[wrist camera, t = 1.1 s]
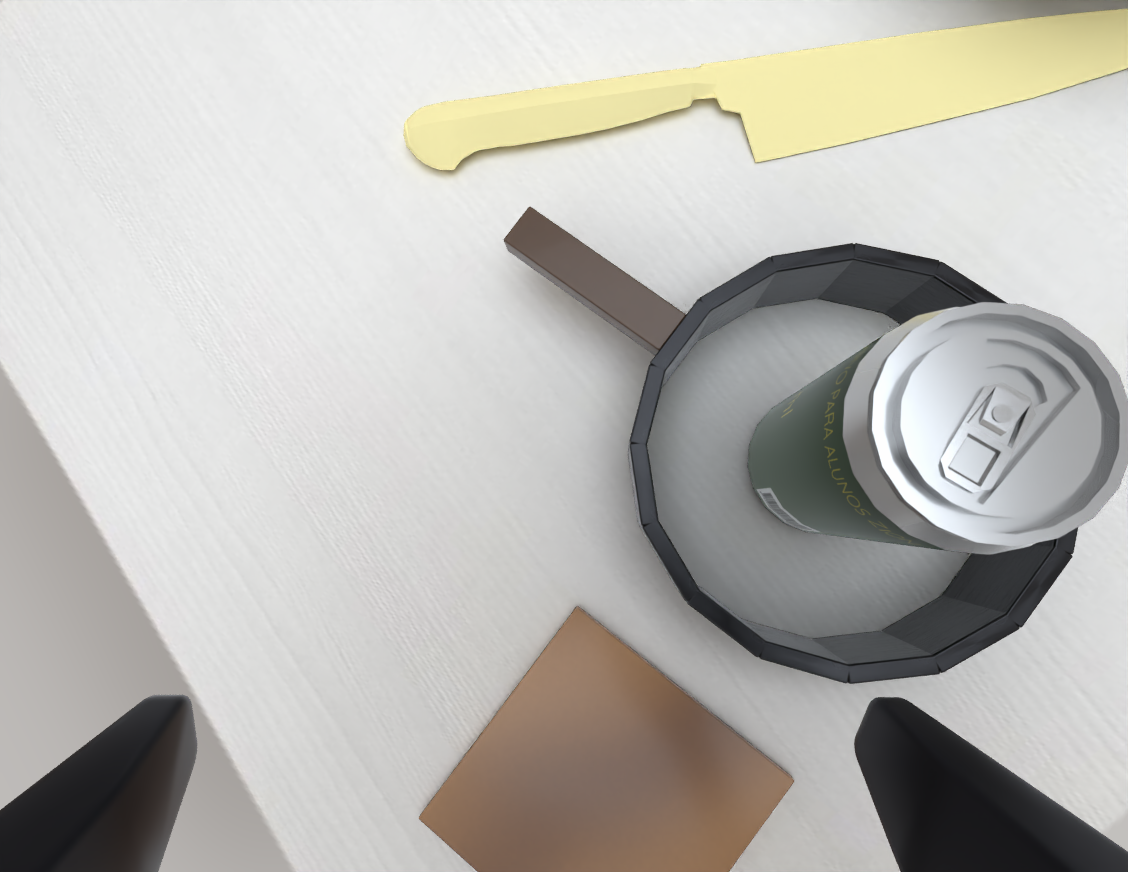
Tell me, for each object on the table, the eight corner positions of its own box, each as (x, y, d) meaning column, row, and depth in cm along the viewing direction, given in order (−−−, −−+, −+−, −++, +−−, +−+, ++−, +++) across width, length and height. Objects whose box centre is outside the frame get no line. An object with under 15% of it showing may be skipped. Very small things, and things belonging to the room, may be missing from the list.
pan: (1084, 426, 24) (1178, 410, 20) (863, 732, 23) (914, 779, 19) (631, 131, 27) (633, 65, 23) (427, 395, 26) (392, 375, 22)
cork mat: (792, 776, 23) (795, 781, 23) (629, 1000, 23) (629, 1009, 22) (577, 605, 24) (576, 606, 24) (421, 813, 24) (417, 818, 24)
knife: (1261, 76, 24) (1246, -42, 24) (409, 209, 26) (395, 101, 26) (1227, 94, 25) (1213, -19, 25) (418, 220, 27) (404, 117, 27)
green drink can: (840, 560, 24) (1060, 614, 12) (717, 484, 25) (809, 463, 13) (912, 441, 24) (1198, 378, 12) (789, 370, 25) (944, 243, 13)
